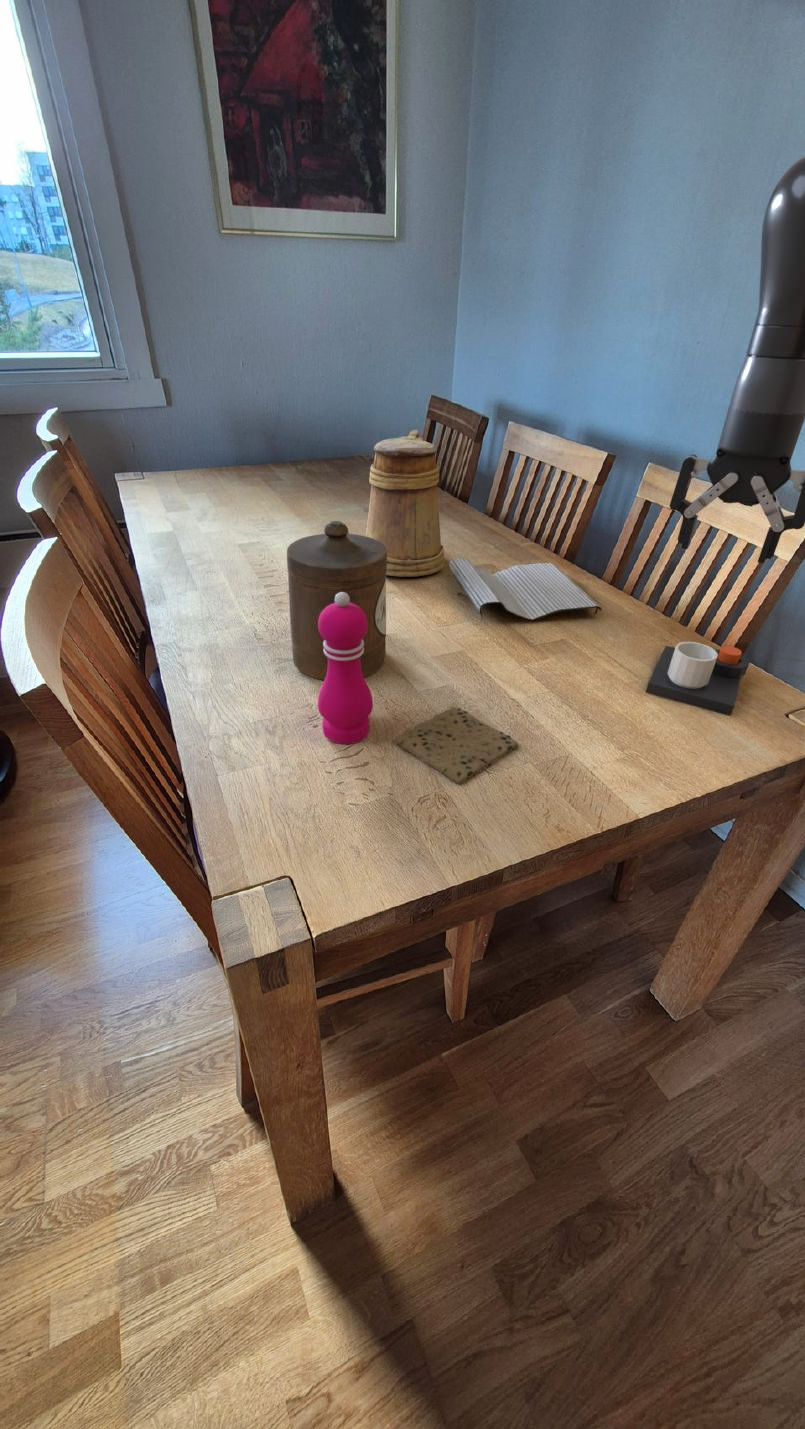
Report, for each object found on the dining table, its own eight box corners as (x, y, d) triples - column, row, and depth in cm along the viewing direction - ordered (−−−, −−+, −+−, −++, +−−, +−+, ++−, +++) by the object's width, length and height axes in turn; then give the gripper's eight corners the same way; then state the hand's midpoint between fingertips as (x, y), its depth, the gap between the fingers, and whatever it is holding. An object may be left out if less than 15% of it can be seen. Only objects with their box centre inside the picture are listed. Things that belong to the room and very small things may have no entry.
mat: (601, 619, 115) (606, 595, 113) (477, 627, 112) (480, 603, 109) (554, 572, 134) (557, 550, 131) (447, 577, 130) (448, 555, 128)
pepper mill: (308, 728, 85) (298, 590, 73) (350, 709, 89) (347, 576, 78) (341, 753, 80) (336, 611, 69) (383, 732, 85) (385, 594, 73)
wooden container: (402, 667, 99) (407, 529, 87) (317, 691, 93) (309, 546, 80) (358, 630, 109) (356, 502, 97) (278, 649, 103) (265, 515, 90)
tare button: (739, 658, 98) (742, 649, 97) (737, 667, 96) (740, 657, 95) (718, 653, 99) (722, 644, 98) (716, 661, 97) (719, 651, 96)
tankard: (354, 577, 129) (351, 448, 115) (371, 539, 148) (370, 425, 134) (441, 583, 128) (450, 453, 114) (447, 544, 147) (454, 429, 133)
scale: (743, 674, 100) (750, 655, 98) (733, 716, 90) (741, 696, 88) (663, 654, 105) (668, 635, 103) (645, 692, 95) (651, 672, 93)
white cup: (709, 676, 96) (720, 648, 93) (704, 694, 92) (715, 664, 89) (670, 666, 98) (679, 638, 95) (663, 683, 94) (672, 654, 91)
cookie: (452, 707, 90) (453, 702, 89) (520, 746, 83) (521, 740, 82) (391, 740, 83) (391, 734, 82) (458, 785, 76) (459, 779, 75)
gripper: (691, 403, 67) (654, 552, 76) (845, 416, 61) (786, 576, 70) (703, 396, 72) (667, 535, 81) (846, 407, 66) (790, 556, 75)
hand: (722, 554), depth 75 cm, fingers open, 8 cm apart
